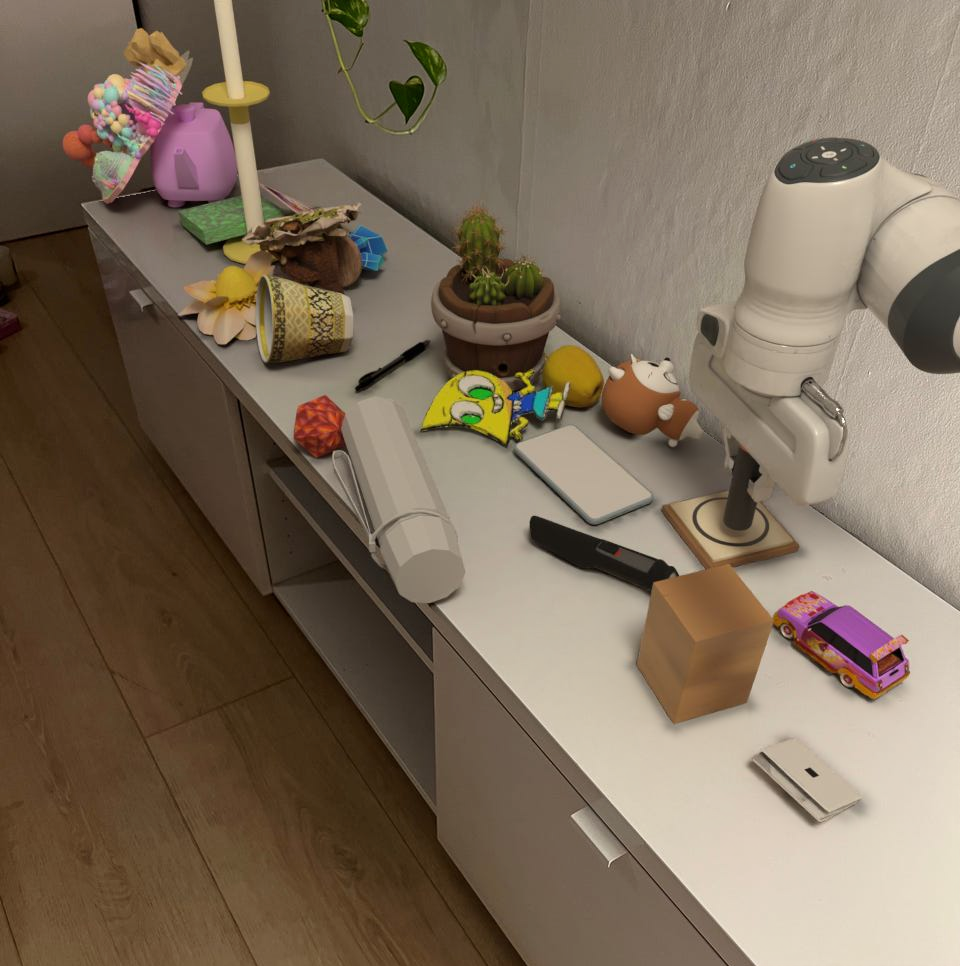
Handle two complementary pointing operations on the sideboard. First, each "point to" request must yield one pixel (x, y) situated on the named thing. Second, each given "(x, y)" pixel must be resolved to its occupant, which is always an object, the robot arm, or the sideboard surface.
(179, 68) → the candy platter
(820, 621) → the toy car
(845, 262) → the robot arm
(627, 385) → the figurine
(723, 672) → the brown block
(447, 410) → the toy
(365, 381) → the pen
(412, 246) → the sideboard surface
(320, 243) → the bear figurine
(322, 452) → the decorative stone
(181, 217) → the green jade tablet
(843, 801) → the laptop
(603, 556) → the electric trimmer
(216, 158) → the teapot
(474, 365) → the flowerpot
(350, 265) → the gemstone
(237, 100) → the candle
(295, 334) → the ceramic cup
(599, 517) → the smartphone
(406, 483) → the water bottle
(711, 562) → the ringed wooden coaster
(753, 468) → the marker
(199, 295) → the decorative flower
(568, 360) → the apple
